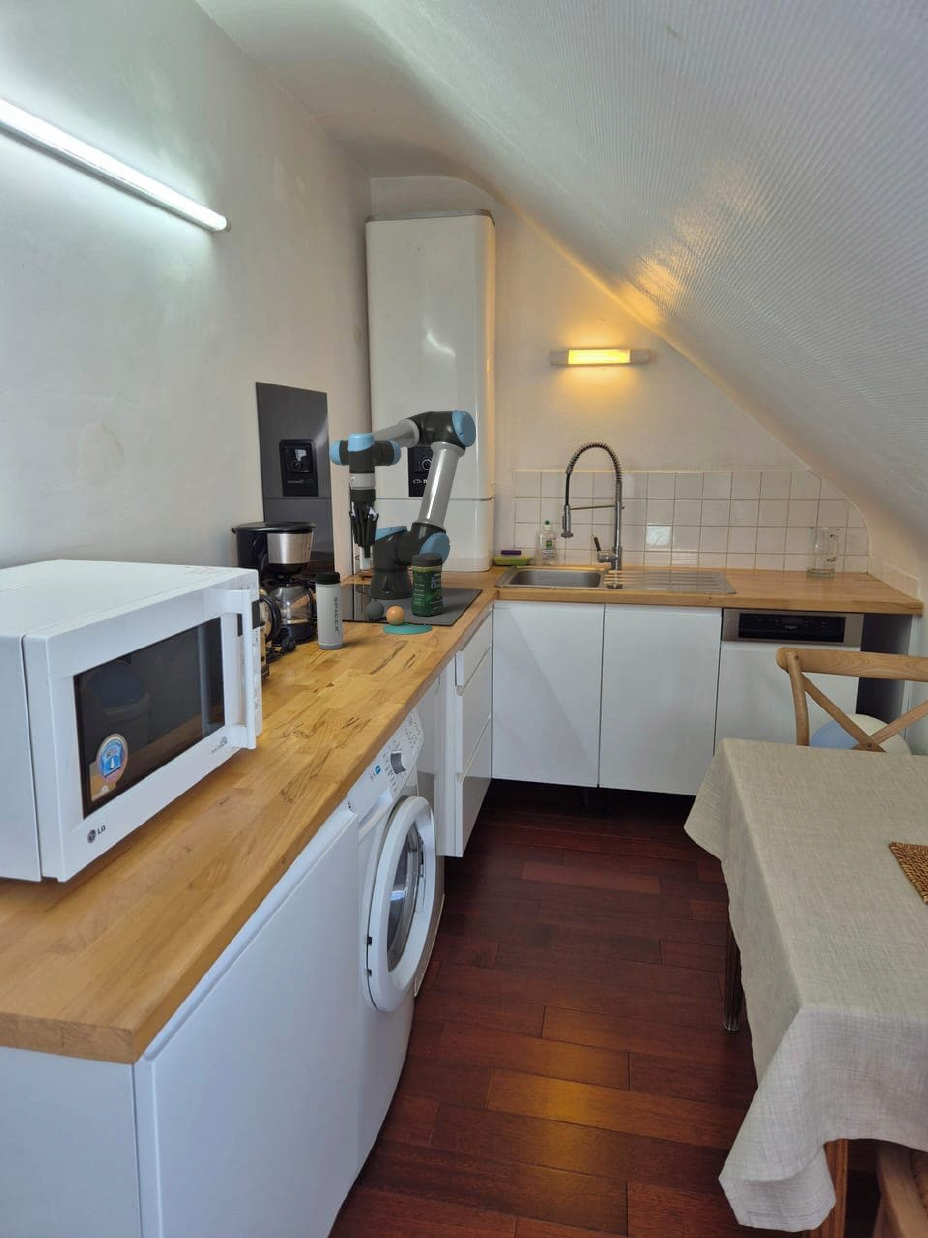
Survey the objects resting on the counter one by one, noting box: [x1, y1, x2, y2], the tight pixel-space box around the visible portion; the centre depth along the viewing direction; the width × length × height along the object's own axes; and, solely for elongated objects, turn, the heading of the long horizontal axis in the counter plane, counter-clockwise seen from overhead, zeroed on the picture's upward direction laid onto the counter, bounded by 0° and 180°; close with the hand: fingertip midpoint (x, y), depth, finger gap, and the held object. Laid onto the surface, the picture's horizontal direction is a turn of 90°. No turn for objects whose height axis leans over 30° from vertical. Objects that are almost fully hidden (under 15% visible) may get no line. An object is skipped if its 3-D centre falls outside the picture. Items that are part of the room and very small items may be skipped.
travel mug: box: [313, 569, 344, 651], centre depth 209 cm, size 6×7×20 cm
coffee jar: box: [410, 553, 444, 617], centre depth 247 cm, size 10×8×19 cm
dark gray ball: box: [365, 600, 385, 621], centre depth 241 cm, size 6×6×6 cm
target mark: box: [381, 623, 433, 635], centre depth 231 cm, size 14×14×1 cm
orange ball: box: [385, 605, 407, 625], centre depth 234 cm, size 6×6×6 cm
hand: (365, 568), depth 243 cm, fingers closed
